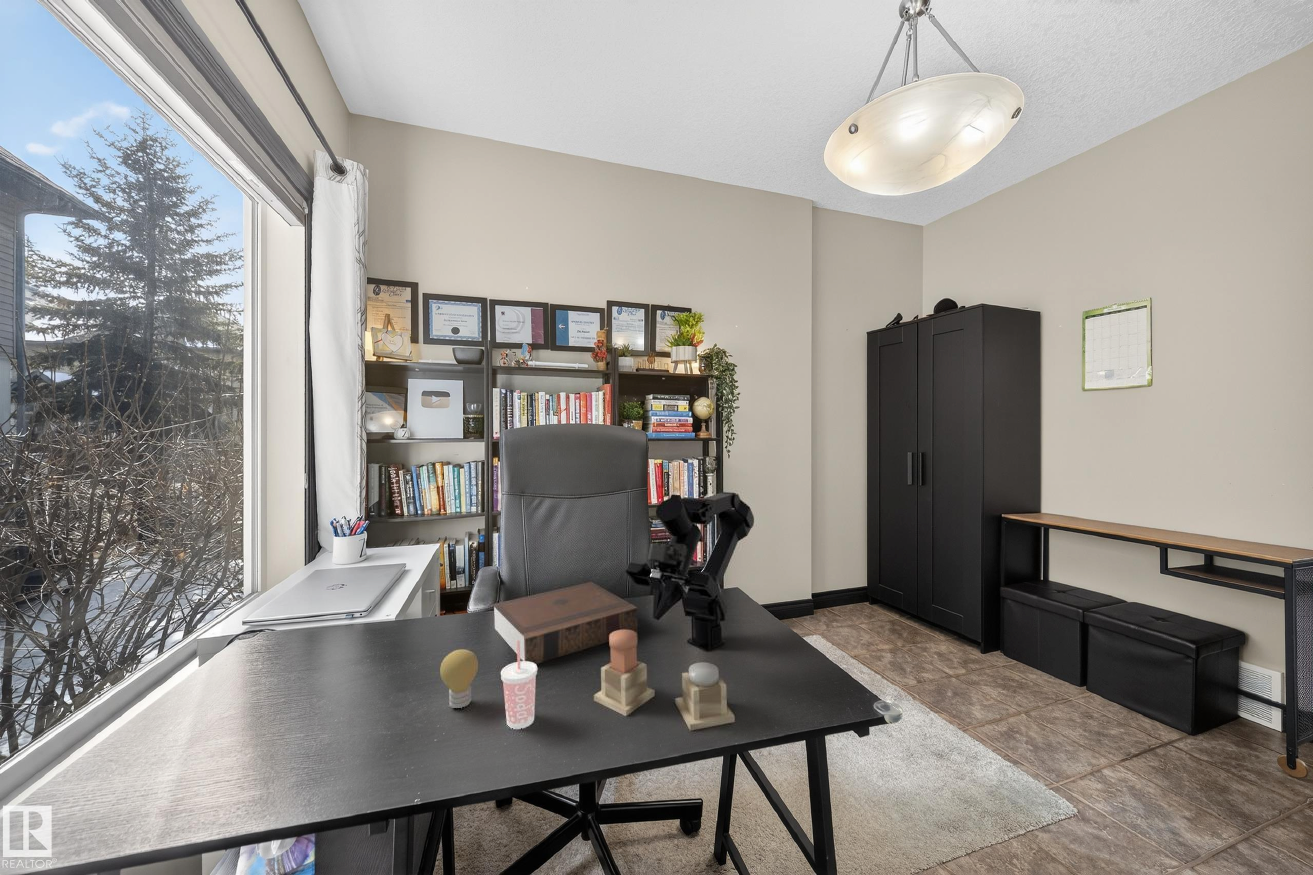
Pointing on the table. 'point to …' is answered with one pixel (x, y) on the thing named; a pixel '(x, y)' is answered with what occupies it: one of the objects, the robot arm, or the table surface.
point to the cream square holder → (624, 689)
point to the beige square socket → (704, 704)
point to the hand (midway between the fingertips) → (655, 619)
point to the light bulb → (459, 676)
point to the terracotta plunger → (623, 650)
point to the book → (562, 621)
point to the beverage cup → (519, 692)
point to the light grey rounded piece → (703, 674)
